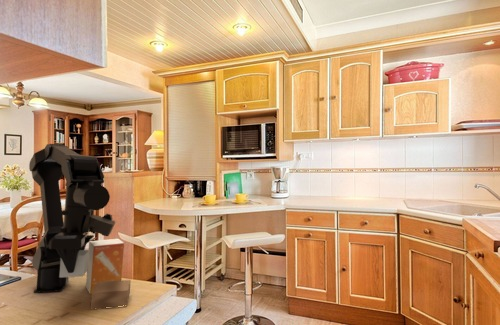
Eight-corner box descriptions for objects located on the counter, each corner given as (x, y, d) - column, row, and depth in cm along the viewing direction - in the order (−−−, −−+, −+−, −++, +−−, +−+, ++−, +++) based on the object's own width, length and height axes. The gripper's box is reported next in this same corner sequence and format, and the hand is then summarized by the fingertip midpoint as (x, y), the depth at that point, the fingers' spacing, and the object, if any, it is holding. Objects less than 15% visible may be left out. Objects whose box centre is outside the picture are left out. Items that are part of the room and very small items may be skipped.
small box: (89, 295, 79) (93, 245, 79) (85, 287, 84) (88, 240, 84) (121, 288, 84) (124, 242, 84) (115, 281, 89) (118, 237, 89)
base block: (90, 309, 71) (91, 292, 71) (96, 297, 77) (97, 281, 77) (126, 306, 73) (127, 290, 73) (129, 295, 80) (130, 280, 80)
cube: (59, 277, 70) (60, 256, 70) (65, 270, 74) (67, 250, 75) (83, 276, 71) (84, 255, 71) (87, 269, 76) (89, 249, 76)
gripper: (107, 211, 67) (102, 280, 66) (118, 202, 85) (115, 257, 84) (50, 210, 63) (45, 283, 63) (74, 201, 81) (70, 258, 81)
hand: (74, 269), depth 73 cm, fingers closed on cube, 5 cm apart
